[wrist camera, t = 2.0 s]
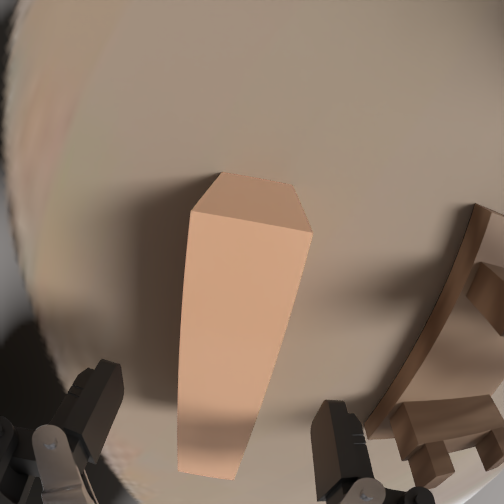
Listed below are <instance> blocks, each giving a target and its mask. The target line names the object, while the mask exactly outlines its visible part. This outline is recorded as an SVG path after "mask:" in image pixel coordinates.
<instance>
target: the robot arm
mask: <svg viewBox="0 0 504 504" xmlns="http://www.w3.org/2000/svg"><path fill="white" fill-rule="evenodd" d="M123 396H124V385H123V378H122V371H121V365H120V364H118V363H114V362H111V361H108V360H104V359H101V360H100V362H99V363H98V365H97V366H96V368H95V370H93V369H90V368H87V369H86V370H84V371H83V372H81V373H80V374H79V375H78V376H77V378H76V379H75V381H74V383H73V385H72V386H71V388H70V389H69V391H68V394H66V396H65V398H64V400H63V401H62V403H61V405H60V406H59V408H58V410H57V412H56V413H55V415H54V417H53V419H52V420H51V422H50V423H49V424H48V425H43V426H41V427H39V428H37V429H35V430H32V429H25V428H20V427H14V426H13V425H12V424H11V422H10V421H9V420H8V419H7V418H5V417H3V416H0V504H25V503H26V500H27V497H28V494H29V492H30V489H31V486H32V483H33V481H34V478H35V476H36V477H40V478H41V481H42V485H43V492H42V500H43V503H44V504H98V502H97V499H96V497H95V495H94V492H93V490H92V488H91V485H90V483H89V480H88V477H87V475H86V472H85V470H84V469H85V467H86V464H87V462H91V463H94V464H96V463H97V461H98V458H99V455H100V453H101V450H102V448H103V446H104V443H105V441H106V438H107V436H108V433H109V431H110V429H111V426H112V424H113V421H114V419H115V417H116V414H117V412H118V410H119V407H120V405H121V403H122V400H123ZM363 435H364V433H363V429H362V425H361V423H360V421H359V420H358V418H357V417H356V416H355V414H348V413H347V409H346V405H345V402H344V401H338V400H325V401H324V402H323V403H322V405H321V407H320V409H319V411H318V413H317V414H316V416H315V418H314V420H313V422H312V425H311V443H312V452H313V462H314V472H315V483H316V494H317V501H326V503H327V504H435V500H434V497H433V494H432V493H431V492H430V491H429V490H428V489H427V488H425V487H420V486H418V487H413V488H411V489H410V490H409V491H407V492H404V491H397V490H391V489H387V488H385V487H384V486H383V485H382V484H381V483H380V482H379V481H378V480H376V479H375V478H374V475H373V472H372V467H371V463H370V458H369V454H368V450H367V446H366V445H365V443H366V441H365V437H364V436H363Z"/></svg>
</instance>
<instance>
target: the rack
mask: <svg viewBox="0 0 504 504" xmlns="http://www.w3.org/2000/svg"><path fill="white" fill-rule="evenodd" d="M503 379H504V215H502V214H500V213H498V212H495V211H493V210H491V209H488V208H486V207H483V206H481V205H478V204H476V203H475V206H474V209H473V212H472V215H471V218H470V221H469V224H468V227H467V230H466V233H465V236H464V239H463V241H462V244H461V247H460V249H459V252H458V255H457V257H456V260H455V262H454V265H453V267H452V270H451V272H450V274H449V277H448V279H447V281H446V284H445V286H444V288H443V290H442V293H441V295H440V297H439V299H438V301H437V303H436V305H435V307H434V309H433V312H432V314H431V316H430V318H429V320H428V322H427V323H426V325H425V327H424V329H423V331H422V333H421V335H420V337H419V339H418V340H417V342H416V344H415V346H414V348H413V349H412V351H411V353H410V355H409V356H408V358H407V360H406V362H405V363H404V365H403V367H402V368H401V370H400V372H399V373H398V375H397V376H396V378H395V380H394V381H393V383H392V384H391V386H390V387H389V389H388V390H387V392H386V394H385V395H384V397H383V398H382V399H381V401H380V402H379V404H378V405H377V407H376V408H375V410H374V411H373V412H372V414H371V415H370V417H369V418H368V419H367V421H366V422H365V424H364V426H365V430H366V434H367V438H368V440H373V439H389V438H395V440H396V443H397V446H398V450H399V453H400V457H401V460H402V461H406V460H408V461H409V465H410V468H411V472H412V475H413V479H414V482H415V486H416V487H418V486H420V487H425V488H427V489H431V488H435V487H437V486H438V485H440V484H441V483H442V482H443V481H445V480H446V479H447V478H448V477H450V476H451V475H452V474H453V473H454V472H455V470H454V467H453V464H452V462H451V459H450V456H449V454H448V453H450V452H455V451H459V450H463V449H467V448H471V447H476V449H477V451H478V454H479V456H480V458H481V461H482V463H483V466H484V468H485V471H489V470H491V469H494V468H497V467H498V466H500V465H501V464H502V463H503V462H504V419H503V418H502V416H501V414H500V412H499V410H498V408H497V407H496V405H495V403H494V401H493V400H492V398H491V395H492V394H493V393H494V392H495V390H496V389H497V388H498V386H499V385H500V384H501V382H502V381H503Z"/></svg>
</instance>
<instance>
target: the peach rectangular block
mask: <svg viewBox="0 0 504 504" xmlns="http://www.w3.org/2000/svg"><path fill="white" fill-rule="evenodd" d="M312 236H313V231H312V229H311V226H310V224H309V221H308V219H307V217H306V214H305V212H304V210H303V207H302V205H301V203H300V200H299V198H298V196H297V194H296V191H295V189H294V187H293V185H291V184H286V183H281V182H275V181H270V180H265V179H260V178H254V177H249V176H243V175H237V174H231V173H225V172H222V173H221V174H220V175H219V176H218V178H217V179H216V180H215V181H214V182H213V184H212V185H211V186H210V187H209V189H208V190H207V191H206V192H205V194H204V195H203V196H202V197H201V199H200V200H199V201H198V202H197V204H196V205H195V206H194V207H193V209H192V210H191V214H190V223H189V232H188V241H187V252H186V262H185V273H184V285H183V298H182V313H181V329H180V348H179V372H178V418H177V446H178V471H180V472H185V473H190V474H196V475H201V476H207V477H214V478H220V479H228V480H234V478H235V476H236V473H237V471H238V468H239V465H240V463H241V460H242V457H243V455H244V452H245V449H246V447H247V444H248V441H249V439H250V436H251V433H252V430H253V427H254V425H255V422H256V419H257V416H258V413H259V411H260V408H261V405H262V402H263V399H264V396H265V393H266V390H267V387H268V384H269V381H270V378H271V375H272V372H273V369H274V366H275V363H276V360H277V357H278V353H279V350H280V347H281V344H282V341H283V338H284V334H285V331H286V328H287V325H288V321H289V318H290V315H291V311H292V308H293V304H294V301H295V298H296V294H297V291H298V287H299V284H300V280H301V277H302V273H303V270H304V266H305V262H306V259H307V255H308V251H309V248H310V244H311V240H312Z"/></svg>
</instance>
